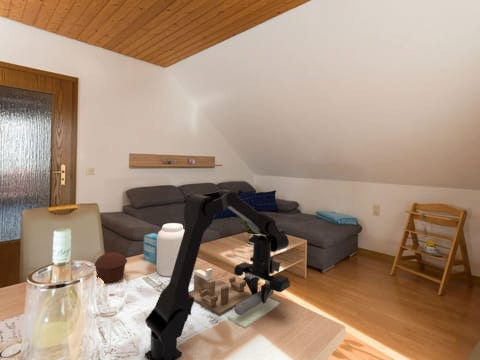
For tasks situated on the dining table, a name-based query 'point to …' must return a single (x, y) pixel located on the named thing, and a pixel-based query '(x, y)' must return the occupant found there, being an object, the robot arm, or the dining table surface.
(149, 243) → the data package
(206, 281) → the cradle
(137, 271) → the dining table surface
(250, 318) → the mat
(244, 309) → the grey rod
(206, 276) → the beige wooden bar
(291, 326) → the dining table surface
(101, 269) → the muffin
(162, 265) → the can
